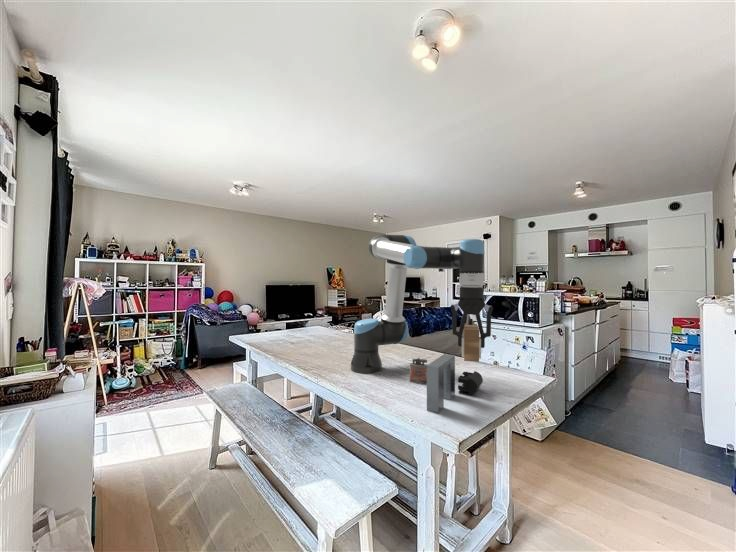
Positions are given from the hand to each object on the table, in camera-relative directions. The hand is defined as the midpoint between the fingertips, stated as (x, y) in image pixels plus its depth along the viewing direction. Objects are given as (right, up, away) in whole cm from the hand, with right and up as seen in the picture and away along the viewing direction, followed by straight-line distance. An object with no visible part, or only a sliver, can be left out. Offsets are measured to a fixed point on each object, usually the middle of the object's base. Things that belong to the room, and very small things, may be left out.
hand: (471, 356), depth 103 cm
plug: (+1, 0, +3) cm, 3 cm away
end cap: (+6, -18, +18) cm, 26 cm away
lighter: (-13, -18, +28) cm, 36 cm away
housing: (-8, -18, +7) cm, 21 cm away
